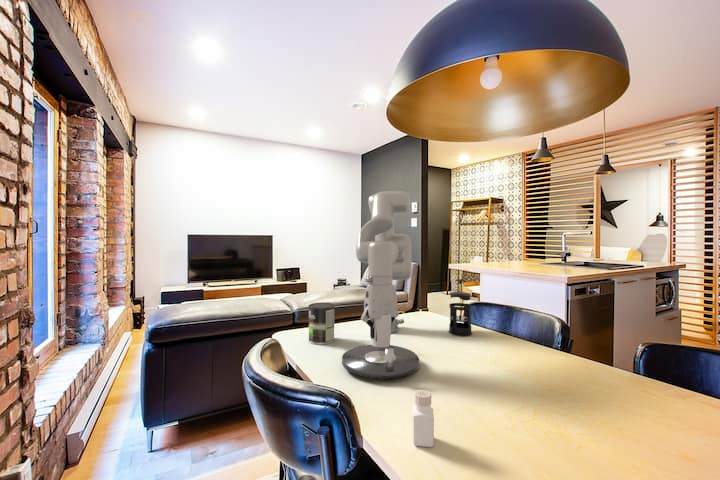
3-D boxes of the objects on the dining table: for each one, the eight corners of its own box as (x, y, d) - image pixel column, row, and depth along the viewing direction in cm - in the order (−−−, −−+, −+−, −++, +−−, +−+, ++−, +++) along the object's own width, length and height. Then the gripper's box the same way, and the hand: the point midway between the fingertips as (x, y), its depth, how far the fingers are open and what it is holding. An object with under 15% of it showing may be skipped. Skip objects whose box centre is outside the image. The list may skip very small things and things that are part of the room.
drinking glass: (393, 342, 101) (393, 310, 102) (389, 348, 95) (389, 315, 95) (373, 340, 103) (373, 309, 103) (368, 346, 97) (368, 314, 97)
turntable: (338, 354, 109) (338, 329, 109) (404, 350, 113) (404, 325, 113) (348, 386, 85) (348, 353, 85) (431, 379, 90) (431, 348, 90)
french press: (463, 338, 128) (463, 281, 128) (443, 333, 135) (443, 279, 135) (478, 332, 136) (478, 279, 136) (458, 327, 143) (458, 277, 143)
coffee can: (312, 346, 118) (312, 308, 118) (305, 338, 127) (305, 303, 127) (338, 342, 122) (338, 306, 122) (329, 335, 132) (329, 301, 132)
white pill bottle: (432, 436, 64) (432, 389, 64) (434, 449, 60) (434, 399, 60) (412, 434, 65) (412, 388, 65) (412, 447, 61) (412, 397, 61)
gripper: (363, 284, 92) (363, 347, 92) (408, 280, 100) (408, 338, 100) (351, 281, 98) (351, 340, 98) (394, 278, 107) (394, 332, 107)
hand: (380, 338), depth 99 cm, fingers closed on drinking glass, 3 cm apart
